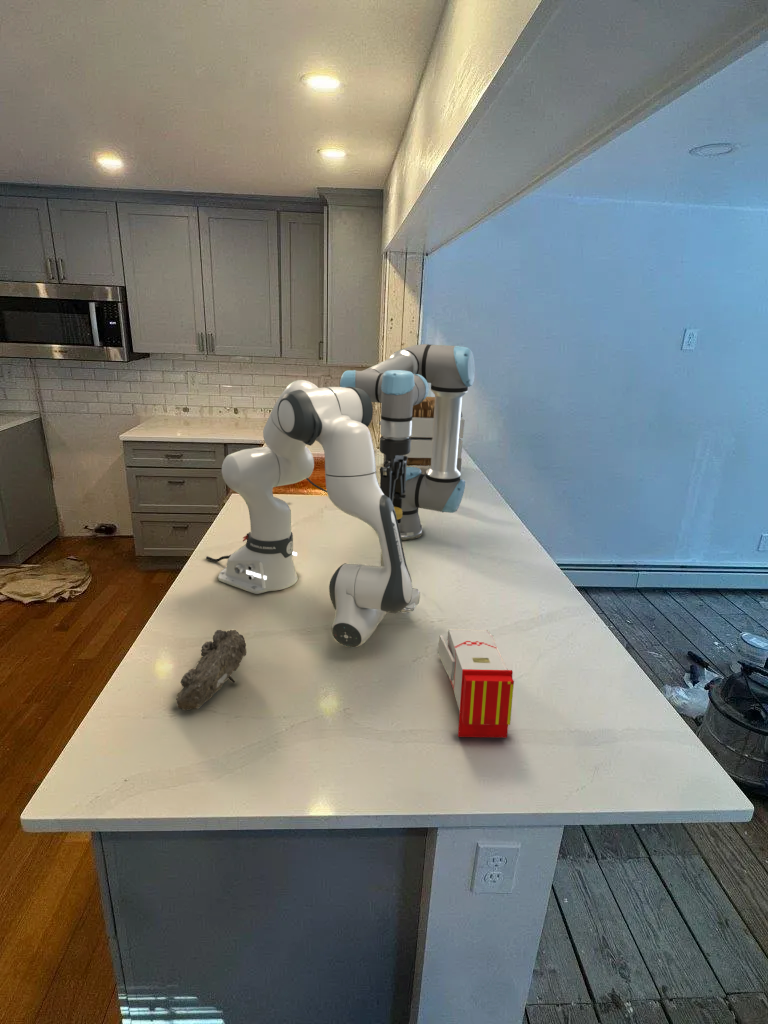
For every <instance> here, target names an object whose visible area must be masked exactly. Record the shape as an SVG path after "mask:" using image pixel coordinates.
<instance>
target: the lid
mask: <svg viewBox="0 0 768 1024" xmlns="http://www.w3.org/2000/svg"><path fill="white" fill-rule="evenodd" d="M394 509H395V513H396V517H397V520H398V519H401V518H402V513H403V512H402V509H401V508H399V507H394Z"/></svg>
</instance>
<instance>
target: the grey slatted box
mask: <svg viewBox="0 0 768 1024" xmlns="http://www.w3.org/2000/svg"><path fill="white" fill-rule="evenodd" d="M434 406H435V396H427V397H426V398H425V399H424V400H423V401H422V402H421V403H420V404H417V405H414V406H413V410H412V433H411V436H410V437H409V438H410V439H411V447H410V453H409V454H407V455H404V456H407V457H408V459H407V465H406V467H417V466H418V467H431V453H432V437H433V422H434ZM464 429H465V419H464V418H463V411H461V419H460V431H459V443H458V455H457V467H456V468H457V470H458V471H459V472H460V473H461V472H462V461H463V460H462V453H463V442H464V441H463V440H462V439H463V438H464V431H465V430H464ZM385 459H386V455H385V454H383V465H384V461H385Z"/></svg>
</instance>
